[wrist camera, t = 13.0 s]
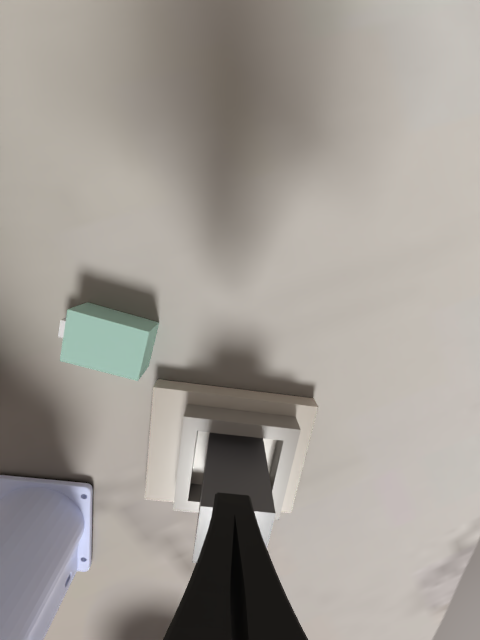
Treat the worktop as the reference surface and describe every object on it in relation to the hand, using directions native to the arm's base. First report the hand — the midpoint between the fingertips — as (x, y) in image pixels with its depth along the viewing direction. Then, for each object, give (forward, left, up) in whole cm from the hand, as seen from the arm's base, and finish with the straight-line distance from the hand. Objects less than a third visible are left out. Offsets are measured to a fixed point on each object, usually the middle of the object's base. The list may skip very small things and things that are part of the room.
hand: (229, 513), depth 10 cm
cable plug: (+3, +9, -10) cm, 14 cm away
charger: (-5, -1, -9) cm, 10 cm away
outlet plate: (-5, 0, -10) cm, 11 cm away
